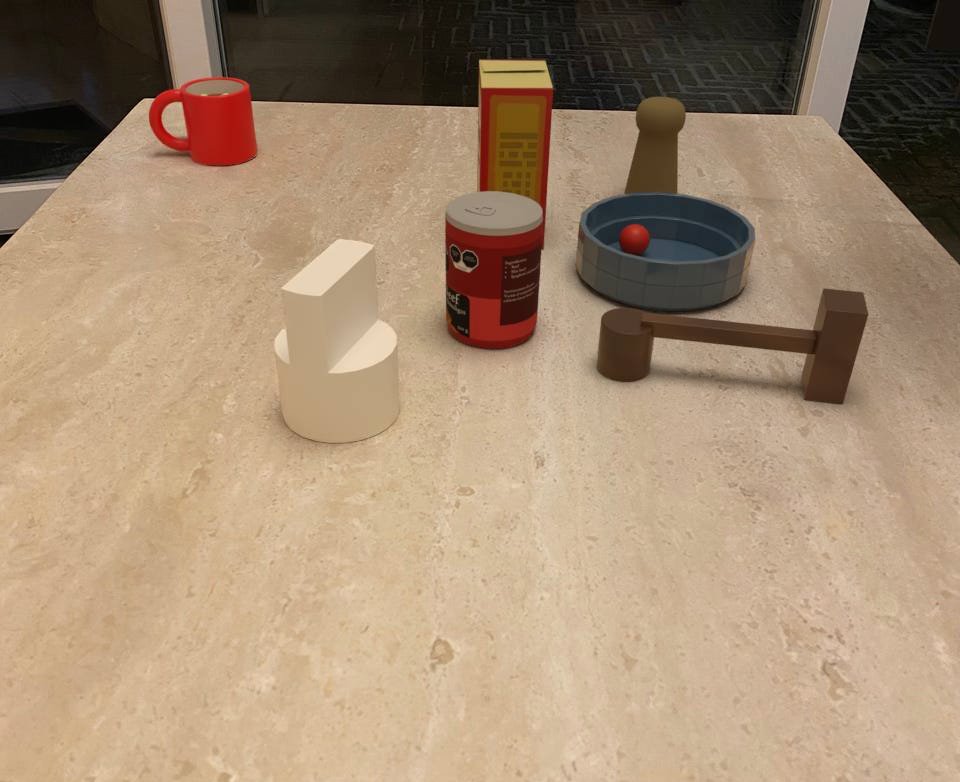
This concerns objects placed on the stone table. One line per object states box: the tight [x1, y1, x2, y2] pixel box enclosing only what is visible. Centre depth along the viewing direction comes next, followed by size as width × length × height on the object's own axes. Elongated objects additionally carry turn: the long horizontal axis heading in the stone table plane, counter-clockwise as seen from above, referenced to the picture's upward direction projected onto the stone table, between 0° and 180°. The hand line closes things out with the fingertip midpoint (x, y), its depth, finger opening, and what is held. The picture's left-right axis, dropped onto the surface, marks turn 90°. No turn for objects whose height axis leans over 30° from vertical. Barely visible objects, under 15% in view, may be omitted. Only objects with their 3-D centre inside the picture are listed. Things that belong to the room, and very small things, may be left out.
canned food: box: [444, 191, 543, 349], centre depth 84 cm, size 8×8×11 cm
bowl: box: [575, 192, 756, 312], centre depth 95 cm, size 16×16×5 cm
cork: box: [623, 96, 687, 194], centre depth 107 cm, size 6×6×11 cm
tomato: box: [619, 224, 650, 255], centre depth 98 cm, size 3×3×3 cm
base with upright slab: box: [273, 238, 401, 444], centre depth 74 cm, size 9×9×12 cm
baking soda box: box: [476, 58, 554, 250], centre depth 99 cm, size 10×6×16 cm
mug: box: [148, 76, 258, 166], centre depth 117 cm, size 8×12×8 cm, turn 98°
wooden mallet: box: [596, 287, 869, 405], centre depth 79 cm, size 20×4×8 cm, turn 79°
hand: (957, 73), depth 76 cm, fingers open, 13 cm apart
